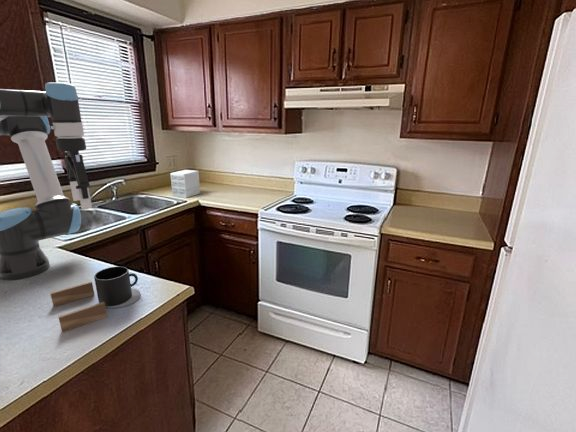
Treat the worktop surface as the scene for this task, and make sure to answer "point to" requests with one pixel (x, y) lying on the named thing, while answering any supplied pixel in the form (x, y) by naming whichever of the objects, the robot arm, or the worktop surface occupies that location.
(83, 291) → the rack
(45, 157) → the robot arm
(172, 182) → the supplement box
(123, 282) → the mug
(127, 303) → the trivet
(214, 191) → the worktop surface
